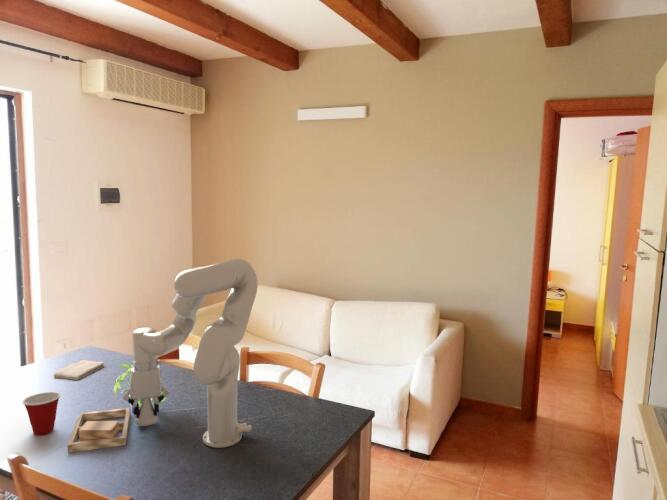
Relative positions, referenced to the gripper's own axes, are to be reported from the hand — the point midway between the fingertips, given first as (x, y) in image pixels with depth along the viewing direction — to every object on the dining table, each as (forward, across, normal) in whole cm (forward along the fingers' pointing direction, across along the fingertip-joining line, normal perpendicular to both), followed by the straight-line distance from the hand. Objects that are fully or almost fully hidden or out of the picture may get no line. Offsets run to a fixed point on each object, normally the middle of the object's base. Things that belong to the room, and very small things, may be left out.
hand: (146, 414), depth 170 cm
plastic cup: (+4, +32, -5) cm, 33 cm away
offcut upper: (+1, +14, +8) cm, 16 cm away
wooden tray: (+4, +14, +1) cm, 15 cm away
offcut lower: (+4, +14, +8) cm, 16 cm away
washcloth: (+4, +29, -58) cm, 65 cm away
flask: (+3, 0, 0) cm, 3 cm away
